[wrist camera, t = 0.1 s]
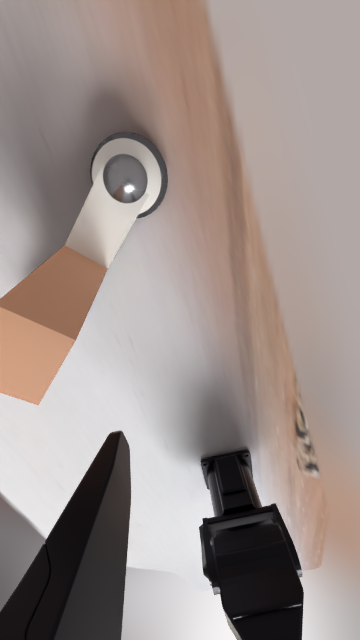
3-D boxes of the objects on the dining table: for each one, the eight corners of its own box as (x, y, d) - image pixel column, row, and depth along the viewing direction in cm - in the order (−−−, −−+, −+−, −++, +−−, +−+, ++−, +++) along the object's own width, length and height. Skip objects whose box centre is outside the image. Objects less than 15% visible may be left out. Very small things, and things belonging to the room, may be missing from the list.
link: (116, 126, 16) (65, 58, 6) (171, 169, 17) (197, 164, 8) (28, 315, 21) (-70, 428, 12) (76, 336, 23) (22, 453, 13)
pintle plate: (173, 208, 20) (178, 217, 16) (107, 223, 20) (96, 235, 16) (157, 126, 17) (159, 113, 13) (82, 143, 17) (62, 135, 13)
